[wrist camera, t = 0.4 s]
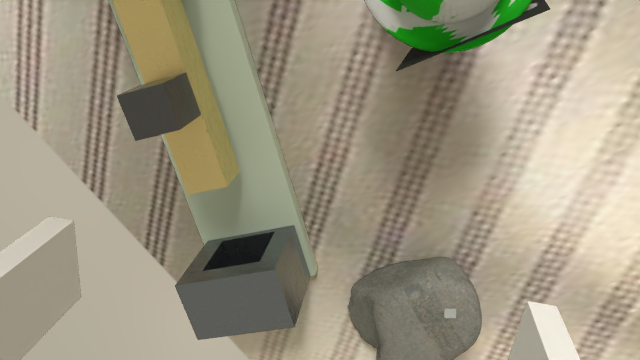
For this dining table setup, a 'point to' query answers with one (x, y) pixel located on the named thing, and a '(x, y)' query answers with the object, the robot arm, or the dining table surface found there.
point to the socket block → (245, 284)
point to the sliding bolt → (175, 94)
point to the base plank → (238, 134)
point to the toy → (449, 23)
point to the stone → (417, 310)
